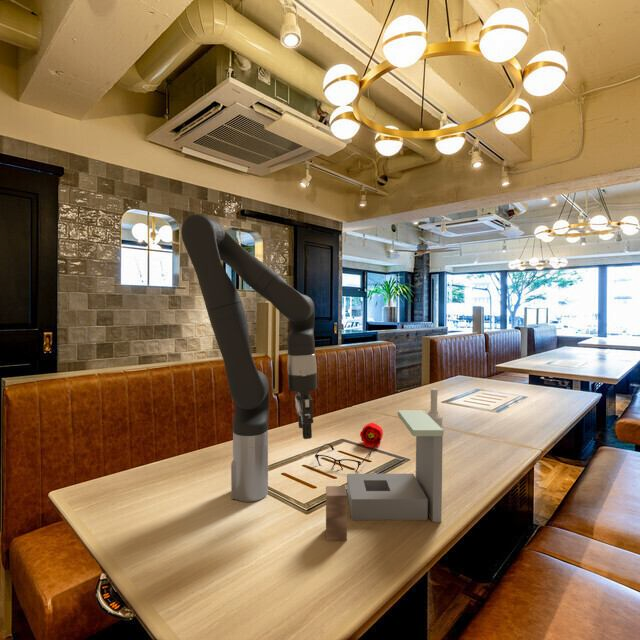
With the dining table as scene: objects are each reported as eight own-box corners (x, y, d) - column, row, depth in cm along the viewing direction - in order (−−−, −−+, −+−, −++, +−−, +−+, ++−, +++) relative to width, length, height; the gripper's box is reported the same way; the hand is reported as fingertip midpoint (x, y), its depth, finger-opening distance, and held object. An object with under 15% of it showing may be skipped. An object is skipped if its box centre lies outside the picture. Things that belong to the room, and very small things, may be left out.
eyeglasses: (312, 466, 125) (312, 454, 125) (329, 449, 140) (329, 438, 139) (362, 475, 119) (362, 461, 119) (375, 456, 133) (375, 444, 133)
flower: (387, 427, 147) (385, 433, 139) (378, 445, 147) (375, 452, 140) (368, 417, 148) (365, 422, 141) (359, 435, 149) (356, 441, 142)
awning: (412, 523, 92) (413, 430, 91) (397, 489, 109) (397, 410, 108) (442, 523, 92) (443, 430, 91) (422, 489, 109) (423, 410, 108)
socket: (351, 519, 93) (351, 499, 93) (346, 491, 107) (347, 473, 107) (427, 519, 93) (427, 499, 93) (412, 491, 107) (413, 473, 107)
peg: (326, 541, 85) (326, 495, 84) (325, 529, 89) (326, 486, 89) (346, 540, 85) (346, 495, 84) (345, 529, 89) (345, 486, 89)
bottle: (428, 463, 126) (429, 386, 125) (444, 468, 123) (445, 388, 122) (421, 469, 122) (422, 389, 121) (437, 473, 119) (438, 391, 118)
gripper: (285, 367, 108) (288, 425, 109) (290, 377, 94) (293, 443, 95) (312, 366, 110) (314, 423, 110) (321, 375, 96) (324, 440, 96)
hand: (305, 432), depth 103 cm, fingers open, 8 cm apart
